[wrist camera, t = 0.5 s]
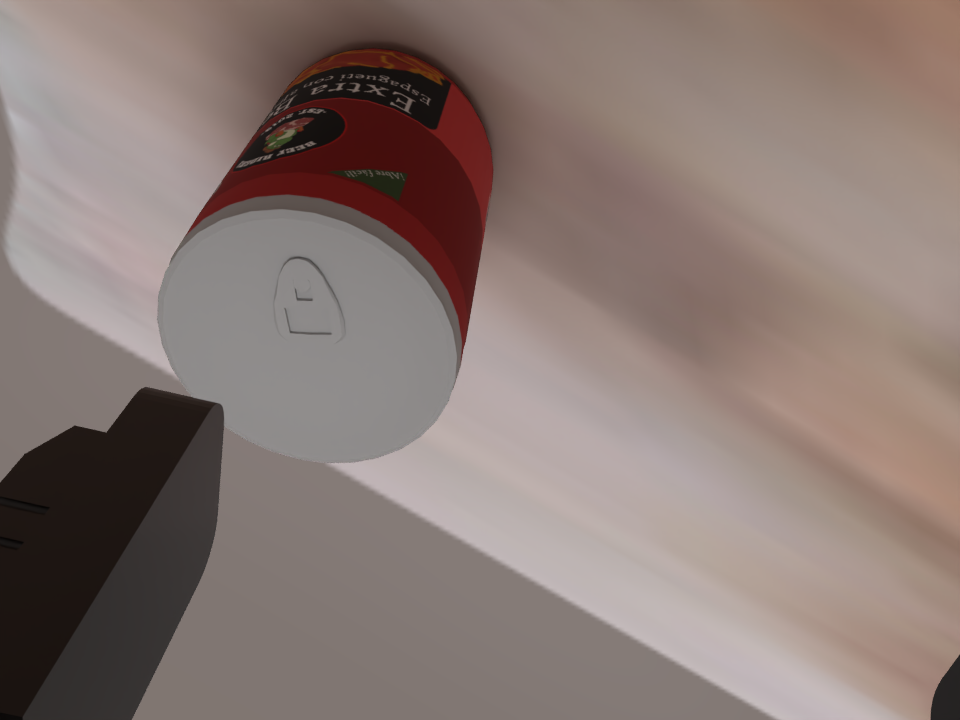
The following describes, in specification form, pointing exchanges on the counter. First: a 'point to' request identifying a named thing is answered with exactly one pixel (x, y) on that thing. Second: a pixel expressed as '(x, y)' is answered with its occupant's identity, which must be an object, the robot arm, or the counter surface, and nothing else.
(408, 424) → the canned food
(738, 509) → the counter surface
